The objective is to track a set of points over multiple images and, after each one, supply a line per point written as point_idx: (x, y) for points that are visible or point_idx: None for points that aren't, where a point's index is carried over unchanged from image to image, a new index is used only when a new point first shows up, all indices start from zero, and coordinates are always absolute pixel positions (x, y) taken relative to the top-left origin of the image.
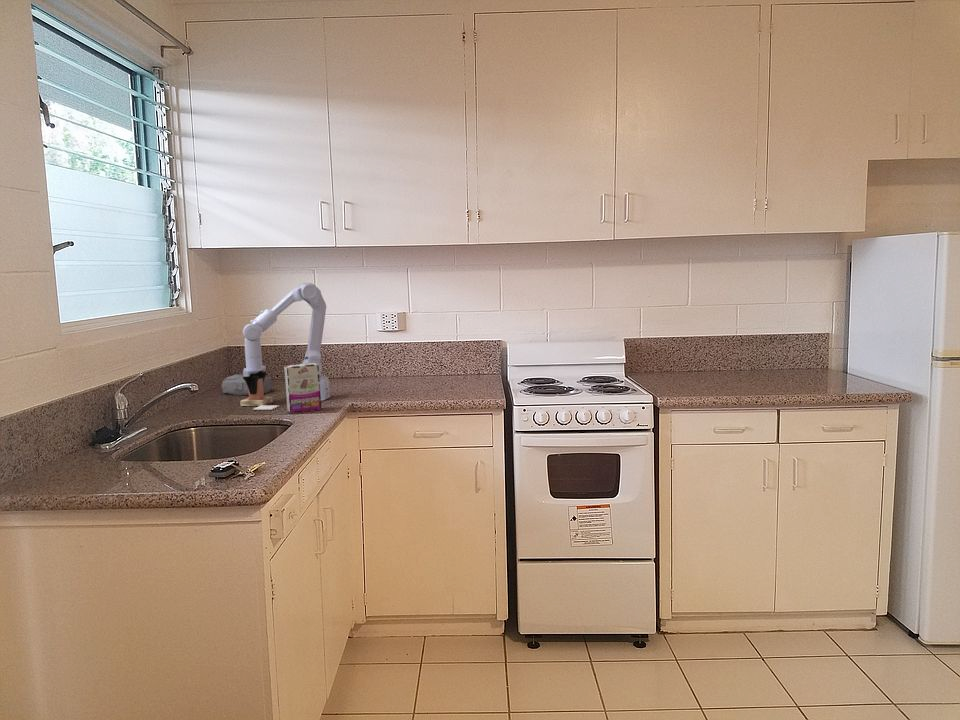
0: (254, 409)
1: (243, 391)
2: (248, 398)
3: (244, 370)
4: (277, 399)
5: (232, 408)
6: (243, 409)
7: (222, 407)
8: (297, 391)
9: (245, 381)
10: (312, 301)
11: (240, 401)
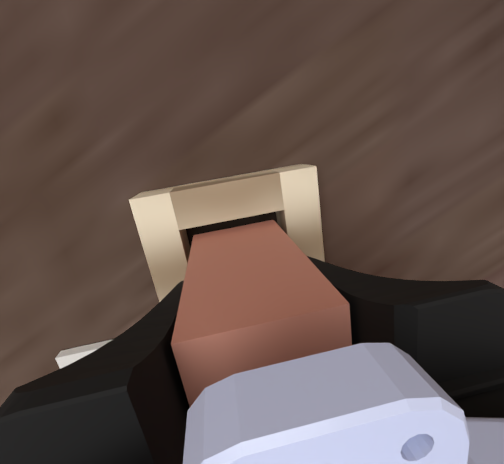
0: (61, 363)
1: None
2: (239, 200)
3: (185, 449)
4: (407, 269)
5: (70, 168)
6: (70, 270)
7: (74, 50)
8: None
9: (86, 359)
10: None
11: (130, 201)
